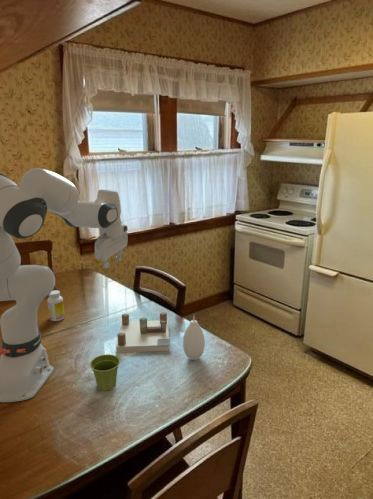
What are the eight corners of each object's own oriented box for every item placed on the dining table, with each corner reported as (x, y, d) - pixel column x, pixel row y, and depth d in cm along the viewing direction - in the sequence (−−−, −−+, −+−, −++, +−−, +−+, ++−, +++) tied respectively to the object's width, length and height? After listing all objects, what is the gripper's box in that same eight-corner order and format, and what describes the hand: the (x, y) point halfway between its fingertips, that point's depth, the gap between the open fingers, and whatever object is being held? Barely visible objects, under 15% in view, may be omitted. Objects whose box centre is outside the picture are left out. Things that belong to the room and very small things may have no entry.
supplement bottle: (67, 315, 169) (64, 289, 165) (61, 322, 162) (58, 295, 159) (53, 314, 169) (50, 289, 166) (46, 321, 163) (43, 295, 159)
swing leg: (166, 332, 148) (165, 320, 146) (139, 333, 147) (139, 321, 145) (165, 329, 150) (165, 316, 149) (140, 329, 150) (139, 317, 148)
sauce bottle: (186, 366, 131) (186, 321, 125) (180, 354, 138) (180, 311, 133) (207, 362, 133) (207, 318, 127) (200, 351, 140) (201, 308, 135)
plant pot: (108, 372, 127) (107, 350, 125) (127, 383, 122) (125, 361, 119) (86, 386, 120) (84, 363, 118) (104, 398, 115) (102, 374, 112)
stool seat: (170, 351, 140) (169, 336, 138) (116, 353, 139) (115, 338, 137) (169, 325, 160) (168, 311, 158) (121, 326, 158) (121, 313, 156)
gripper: (103, 238, 133) (106, 273, 137) (129, 225, 151) (131, 256, 155) (88, 236, 135) (91, 271, 139) (116, 224, 153) (118, 255, 157)
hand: (112, 263), depth 147 cm, fingers open, 8 cm apart
